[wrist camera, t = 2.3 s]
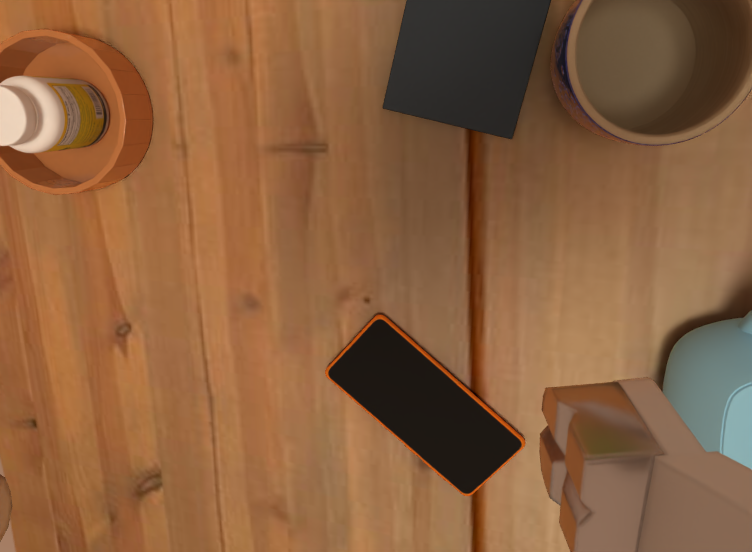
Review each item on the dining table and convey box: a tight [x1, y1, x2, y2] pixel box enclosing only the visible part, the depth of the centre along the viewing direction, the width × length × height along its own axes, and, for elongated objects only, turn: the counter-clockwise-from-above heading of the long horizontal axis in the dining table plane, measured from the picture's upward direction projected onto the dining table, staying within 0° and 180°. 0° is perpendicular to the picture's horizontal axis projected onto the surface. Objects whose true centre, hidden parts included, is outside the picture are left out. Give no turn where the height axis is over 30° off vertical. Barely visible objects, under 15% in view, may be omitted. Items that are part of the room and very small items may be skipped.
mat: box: [383, 0, 551, 139], centre depth 48 cm, size 10×10×1 cm
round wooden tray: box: [0, 29, 153, 195], centre depth 51 cm, size 12×12×4 cm
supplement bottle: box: [0, 76, 109, 153], centre depth 48 cm, size 5×5×10 cm
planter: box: [551, 0, 752, 146], centre depth 42 cm, size 11×11×11 cm
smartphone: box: [325, 314, 525, 496], centre depth 55 cm, size 8×17×1 cm, turn 49°
